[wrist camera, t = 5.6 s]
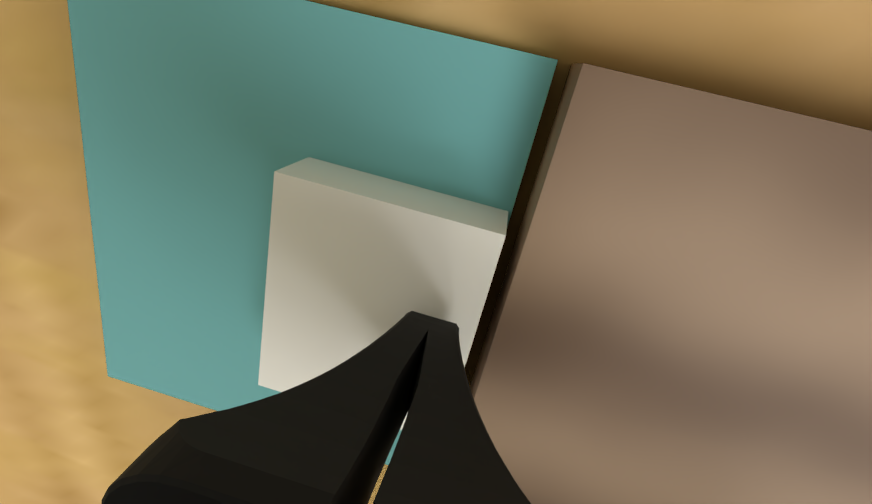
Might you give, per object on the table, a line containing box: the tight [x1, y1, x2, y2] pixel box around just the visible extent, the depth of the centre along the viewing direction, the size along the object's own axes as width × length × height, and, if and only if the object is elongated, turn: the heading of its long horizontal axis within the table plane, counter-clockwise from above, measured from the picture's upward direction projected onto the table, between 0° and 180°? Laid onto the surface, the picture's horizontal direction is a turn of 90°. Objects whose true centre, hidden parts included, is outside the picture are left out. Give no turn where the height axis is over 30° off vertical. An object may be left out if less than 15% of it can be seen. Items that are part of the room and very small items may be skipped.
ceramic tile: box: [258, 157, 508, 430], centre depth 13 cm, size 7×6×2 cm
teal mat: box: [67, 0, 558, 465], centre depth 15 cm, size 15×14×1 cm
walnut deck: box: [470, 63, 872, 504], centre depth 13 cm, size 15×12×2 cm
